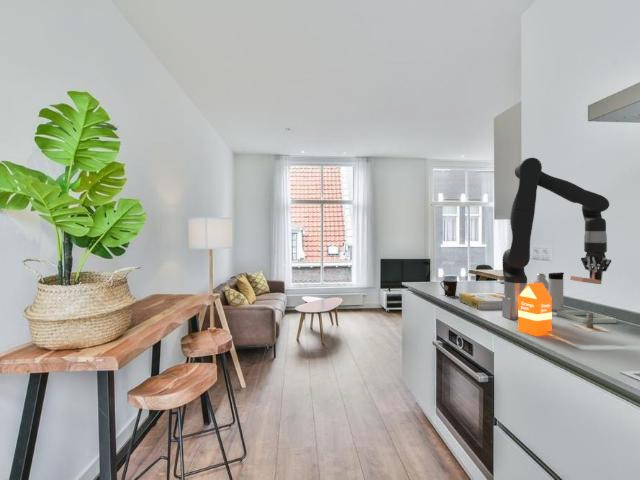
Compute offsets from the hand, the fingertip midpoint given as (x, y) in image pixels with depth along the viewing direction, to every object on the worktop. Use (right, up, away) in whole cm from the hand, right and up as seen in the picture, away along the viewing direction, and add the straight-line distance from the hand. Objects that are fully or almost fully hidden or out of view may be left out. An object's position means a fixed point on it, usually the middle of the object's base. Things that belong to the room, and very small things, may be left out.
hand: (595, 280), depth 137 cm
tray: (-2, -19, +3) cm, 20 cm away
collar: (-3, -1, 0) cm, 3 cm away
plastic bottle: (-12, -19, +17) cm, 28 cm away
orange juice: (-36, -20, -13) cm, 43 cm away
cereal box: (-26, -20, +38) cm, 50 cm away
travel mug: (0, -19, +23) cm, 30 cm away
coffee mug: (-37, -19, +67) cm, 79 cm away
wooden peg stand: (-12, -19, -11) cm, 25 cm away
